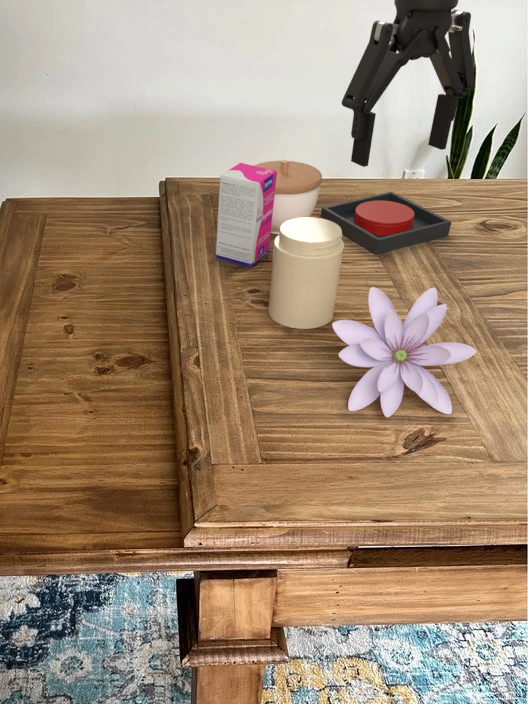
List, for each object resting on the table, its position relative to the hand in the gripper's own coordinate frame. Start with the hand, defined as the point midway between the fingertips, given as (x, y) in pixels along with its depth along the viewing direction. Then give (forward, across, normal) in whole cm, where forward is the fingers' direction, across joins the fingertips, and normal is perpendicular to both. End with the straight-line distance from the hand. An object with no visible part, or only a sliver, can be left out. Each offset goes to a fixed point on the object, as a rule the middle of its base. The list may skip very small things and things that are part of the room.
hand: (398, 155), depth 101 cm
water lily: (+11, +27, +34) cm, 45 cm away
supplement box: (+10, +23, -2) cm, 25 cm away
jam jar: (+11, +25, +14) cm, 31 cm away
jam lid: (+8, 0, -1) cm, 8 cm away
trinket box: (+10, +13, -8) cm, 19 cm away
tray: (+10, 0, 0) cm, 11 cm away
